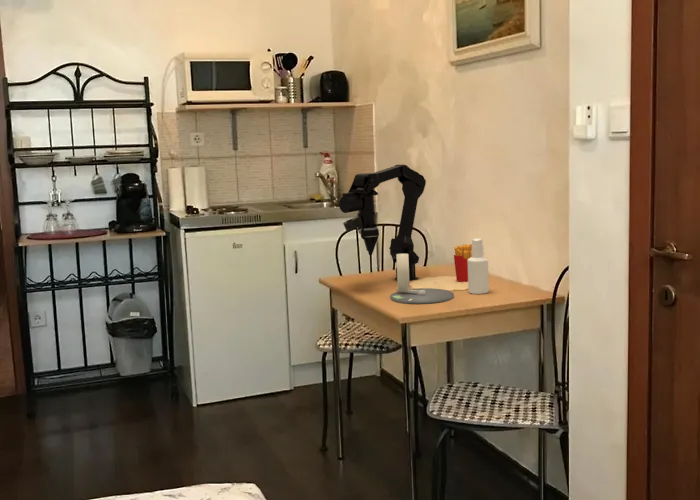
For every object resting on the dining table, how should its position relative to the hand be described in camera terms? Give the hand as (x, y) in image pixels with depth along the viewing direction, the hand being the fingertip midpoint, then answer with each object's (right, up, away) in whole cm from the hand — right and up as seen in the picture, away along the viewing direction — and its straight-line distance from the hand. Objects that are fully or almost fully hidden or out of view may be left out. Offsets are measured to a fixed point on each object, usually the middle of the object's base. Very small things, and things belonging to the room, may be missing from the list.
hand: (369, 252), depth 277 cm
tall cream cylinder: (+12, -13, -15) cm, 24 cm away
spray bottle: (+36, -13, -15) cm, 41 cm away
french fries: (+36, -10, +7) cm, 38 cm away
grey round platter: (+17, -15, -18) cm, 29 cm away
